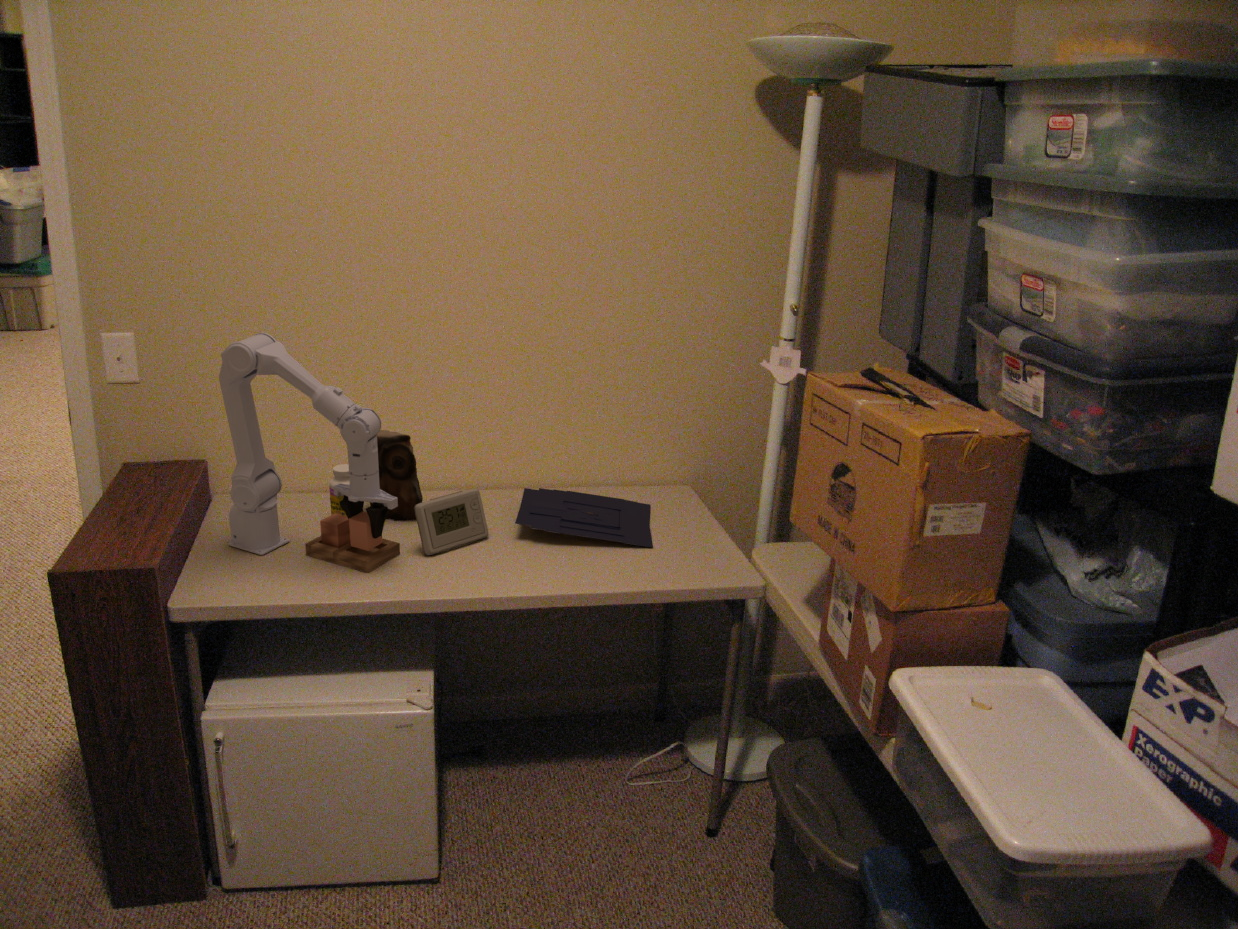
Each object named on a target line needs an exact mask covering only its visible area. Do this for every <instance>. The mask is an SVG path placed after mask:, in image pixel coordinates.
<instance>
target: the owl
mask: <svg viewBox="0 0 1238 929" xmlns="http://www.w3.org/2000/svg"><path fill="white" fill-rule="evenodd" d="M375 436H377V447H378V464H379V485H380V489H381V490H383V491H384V492H386V493H388V494H390V495H392V496H394V497H397V499H398V506H397V507H396V508H393V509H392V510H391V509H390V511H389V513H388V515H387V517H386V520H392V521H394V522H405V521H417V520H416V515H415V510H414V507H415V505H417V504H419V503H423V500H424V498H423V493H422V490H421V486H420V481H419V479H418V478H419V477H418V470H417V469H418V468H417V459H416V455H415V454H414V447H413V445H412V441H411V435H409V434H403V433H400V432H397V431H390V430H387V429H380V431H379V432H378V434H377V435H375ZM375 436H374V437H375ZM372 438H373V437H372ZM368 503H369V504H370V506H372V505H373V503H370V502H368Z"/></svg>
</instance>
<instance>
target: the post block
mask: <svg viewBox="0 0 1238 929" xmlns="http://www.w3.org/2000/svg"><path fill="white" fill-rule="evenodd" d="M349 527H350V540H351V546H352V547H356V548H360V549H363V550H367V551H369V550H371V549H372V548H374V547H376V546H378V545H379V544H381V543H383V541H382V538H383V535H382V536H380V537H378V538H376V539H374V538H373V537H372V532H371V523H370V519H369V516H368V514H367V512H366V510H363V512H361V513H359V514H357V515H355V516H353V517H351V518H350V519H349Z"/></svg>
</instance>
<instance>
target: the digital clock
mask: <svg viewBox="0 0 1238 929" xmlns="http://www.w3.org/2000/svg"><path fill="white" fill-rule="evenodd" d="M483 505H484V504H483V501H482V497H481V492H480V490H479V488H478V487H477V488H470V489H467V490H460V491H456V492H453V493H452V492H451V493H449V494H445V495H442V496H438V497H435V498H434V497H433V498H431V499H429V500H426V501H422V503H419V504H417V505H415V507H414V510H415V515H416V520H415V521H416V524H417V528H418V531H419V532H418V533H419V536H420V541H421V545H422V546H421V547H422V550H423V553H424V554H425V555H426V556H432V555H436V554H438V553H440V554H441V553H444V552H448V551H451V550H455V549H457V548H460V547H464V546H467V545H470V544H473V543H476V541H479V540H482V539H485V538H487V537H488V536H489V529H488V528H489V527H488V525H487V520H486V515H485V509H484V506H483Z"/></svg>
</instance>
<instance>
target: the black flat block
mask: <svg viewBox="0 0 1238 929" xmlns="http://www.w3.org/2000/svg"><path fill="white" fill-rule="evenodd" d="M650 520H651V504H648V503H643V502H638V501H633V500H627V499H624V498H617V497H611V496H605V495H598V494H591V493H584V492H578V491H573V490H560V489H549V488H541V487H539V488H538V489H533V488H528V487H524V489H523V494H522V498H521V502H520V506H519V510H518V513H517V515H516V519H515V521H514V524H515V525H516V524H517V525H521V526H527V527H529V528H530V529H534V530H541V531H545V532H546V533H547V532H548V533H555V534H561V535H571V536H578V537H583V538H584V537H585V538H590V539H596V540H597V539H598V540H602V541H603V540H605V541H609V542H617V543H621V544H628V545H632V546H638V547H639V546H641V547H645V548H646V547H647V548H648V547H649V548H654V545H653V537H652V532H651V525H650V523H651V521H650Z"/></svg>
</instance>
